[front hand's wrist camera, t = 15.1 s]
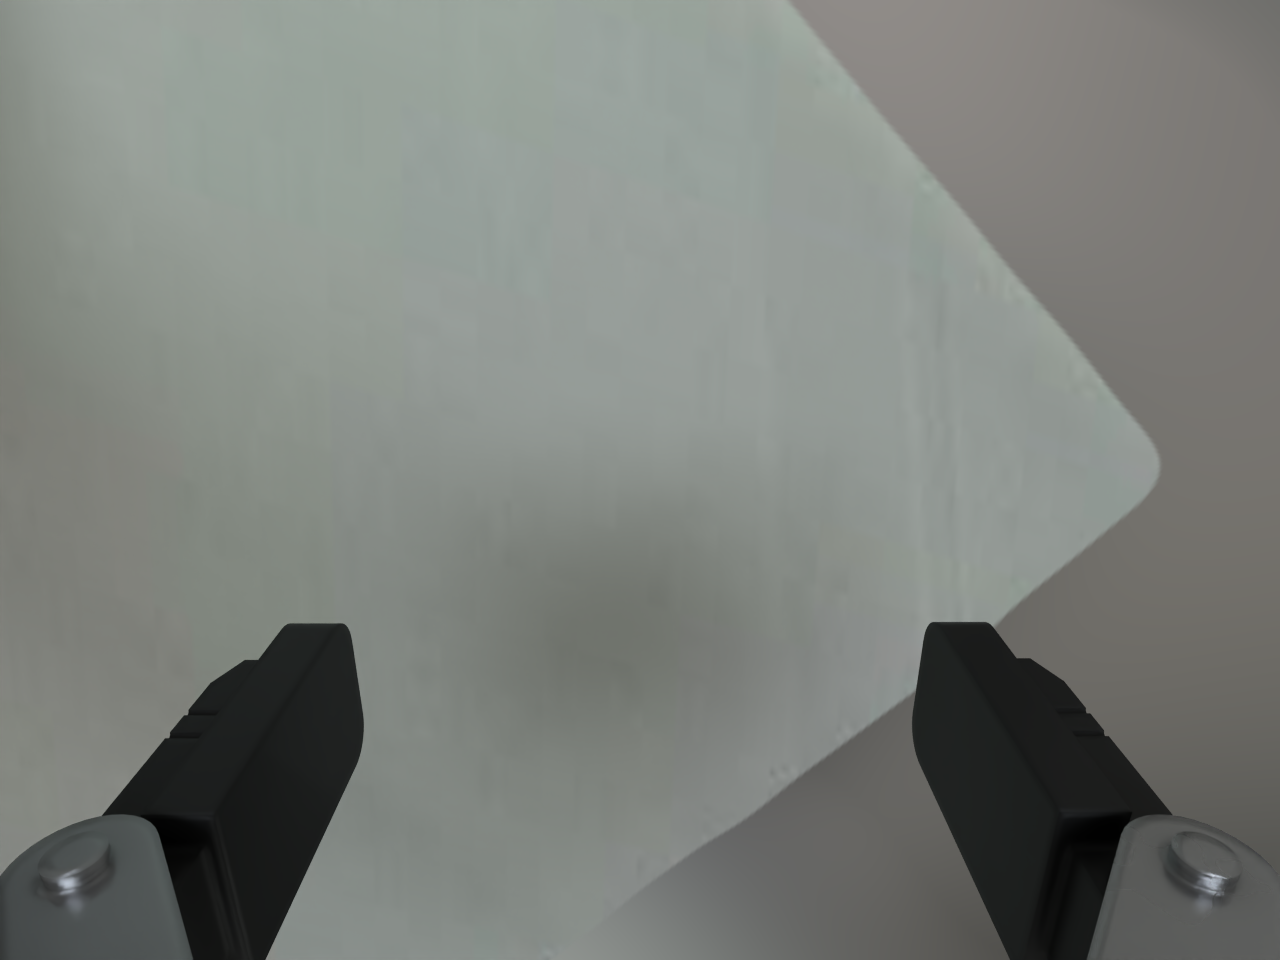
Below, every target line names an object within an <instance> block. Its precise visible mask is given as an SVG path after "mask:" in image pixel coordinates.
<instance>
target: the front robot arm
mask: <svg viewBox="0 0 1280 960" xmlns="http://www.w3.org/2000/svg"><path fill="white" fill-rule="evenodd" d="M363 732H364V719H363V711H362V704H361V698H360V691H359V684H358V678H357V671H356V664H355V658H354V651H353V644H352V639H351V634H350V631H349V629H348V627H347V626H346V625H345V624H287V625H286V626H284V627H283V628H282V629H281V631H280V632H279V633H278V635H277V636H276V637H275V639H274V640H273V641H272V643H271V644H270V645H269V647H268V648H267V649H266V650H265V652H264V653H263V654H262V656H261V657H260V658H259V660H244V661H243V662H241V663H240V664H238V665H237V666H235V667H234V668H232V669H231V670H229V671H228V672H226V673H225V674H223V675H222V676H220V677H219V678H217V679H216V680H214V681H213V682H211V683H210V684H209V686H208V687H207V688H206V689H205V691H204V692H203V693H202V694H201V695H200V697H199V698H198V699H197V700H196V702H195V703H194V704H193V705H192V706H191V708H190V709H189V713H188V715H184V716H183V717H182V719H181V720H180V721H179V722H178V723H177V725H176V726H175V727H174V728H173V730H172V731H171V732H170V738H165V739H164V741H163V742H162V743H161V744H160V745H159V747H158V748H157V749H156V750H155V752H154V753H153V754H152V755H151V756H150V758H149V759H148V760H147V761H146V763H145V764H144V765H143V766H142V767H141V769H140V770H139V771H138V772H137V774H136V775H135V776H134V777H133V778H132V780H131V781H130V782H129V783H128V784H127V786H126V787H125V788H124V789H123V791H122V792H121V793H120V794H119V795H118V797H117V798H116V799H115V800H114V802H113V803H112V804H111V805H110V806H109V808H108V809H107V810H106V811H105V813H104V814H103V815H102V816H100V817H95V818H91V819H87V820H84V821H81V822H78V823H75V824H72V825H70V826H68V827H65V828H63V829H61V830H58V831H56V832H54V833H53V834H51V835H49V836H47V837H45V838H43V839H42V840H40V841H39V842H37V843H36V844H34V845H33V846H31V847H30V848H29V849H27V850H26V851H25V852H23V853H22V854H21V855H20V856H18V857H17V858H16V859H15V860H14V861H13V862H12V863H11V864H10V865H9V866H8V867H7V869H6V870H5V871H4V872H3V873H2V874H1V876H0V960H265V959H266V957H267V955H268V953H269V951H270V949H271V946H272V944H273V942H274V940H275V938H276V936H277V934H278V932H279V929H280V927H281V925H282V923H283V921H284V919H285V917H286V914H287V912H288V910H289V908H290V906H291V904H292V902H293V899H294V897H295V895H296V893H297V891H298V889H299V887H300V885H301V882H302V880H303V878H304V876H305V874H306V872H307V870H308V867H309V865H310V863H311V861H312V859H313V857H314V855H315V852H316V850H317V848H318V846H319V844H320V842H321V840H322V838H323V835H324V833H325V831H326V829H327V827H328V825H329V823H330V820H331V818H332V816H333V814H334V812H335V810H336V808H337V805H338V803H339V801H340V799H341V797H342V795H343V793H344V791H345V788H346V786H347V784H348V782H349V780H350V778H351V776H352V773H353V771H354V769H355V767H356V765H357V762H358V759H359V756H360V752H361V748H362V742H363ZM912 733H913V742H914V747H915V752H916V755H917V758H918V761H919V764H920V766H921V768H922V770H923V772H924V774H925V777H926V779H927V781H928V783H929V785H930V787H931V790H932V792H933V794H934V796H935V798H936V800H937V803H938V805H939V807H940V809H941V811H942V813H943V816H944V818H945V820H946V822H947V824H948V826H949V829H950V831H951V833H952V835H953V837H954V839H955V842H956V844H957V846H958V848H959V850H960V852H961V855H962V857H963V859H964V861H965V863H966V865H967V867H968V870H969V872H970V874H971V876H972V878H973V880H974V882H975V885H976V887H977V889H978V891H979V893H980V895H981V898H982V900H983V902H984V904H985V906H986V909H987V911H988V913H989V915H990V917H991V919H992V922H993V924H994V926H995V928H996V930H997V932H998V934H999V937H1000V939H1001V941H1002V943H1003V945H1004V947H1005V950H1006V952H1007V954H1008V956H1009V958H1010V960H1280V876H1279V874H1278V873H1277V872H1276V871H1275V870H1274V869H1273V867H1272V866H1271V865H1270V864H1269V863H1268V862H1267V861H1266V860H1265V859H1264V858H1263V857H1261V856H1260V855H1259V854H1258V853H1257V852H1255V851H1254V850H1253V849H1251V848H1250V847H1249V846H1247V845H1246V844H1244V843H1243V842H1241V841H1240V840H1238V839H1237V838H1235V837H1233V836H1231V835H1229V834H1227V833H1225V832H1224V831H1222V830H1219V829H1217V828H1215V827H1212V826H1210V825H1208V824H1205V823H1202V822H1199V821H1196V820H1193V819H1189V818H1185V817H1180V816H1173V815H1172V814H1171V812H1170V811H1169V810H1168V809H1167V807H1166V806H1165V805H1164V804H1163V803H1162V801H1161V800H1160V799H1159V798H1158V796H1157V795H1156V794H1155V793H1154V791H1153V790H1152V789H1151V788H1150V786H1149V785H1148V784H1147V783H1146V782H1145V780H1144V779H1143V778H1142V777H1141V775H1140V774H1139V773H1138V772H1137V771H1136V769H1135V768H1134V767H1133V766H1132V764H1131V763H1130V762H1129V761H1128V759H1127V758H1126V757H1125V756H1124V754H1123V753H1122V752H1121V751H1120V750H1119V748H1118V747H1117V746H1116V745H1115V743H1114V742H1113V741H1112V740H1111V739H1110V737H1109V736H1105V735H1104V730H1103V729H1102V727H1101V726H1100V725H1099V724H1098V722H1097V721H1096V720H1095V719H1094V718H1093V716H1092V715H1091V714H1088V713H1086V708H1085V706H1084V705H1083V704H1082V703H1081V702H1080V700H1079V699H1078V698H1077V697H1076V695H1075V694H1074V693H1073V692H1072V690H1071V689H1070V688H1069V687H1068V686H1067V684H1066V683H1065V682H1064V681H1063V680H1061V679H1060V678H1058V677H1057V676H1055V675H1054V674H1052V673H1051V672H1049V671H1048V670H1046V669H1045V668H1044V667H1042V666H1041V665H1039V664H1038V663H1036V662H1035V661H1033V660H1032V659H1030V658H1016V657H1015V656H1014V654H1013V653H1012V652H1011V650H1010V649H1009V648H1008V646H1007V645H1006V644H1005V642H1004V641H1003V640H1002V638H1001V637H1000V636H999V634H998V633H997V632H996V630H995V629H994V628H993V627H992V626H991V625H990V624H989V623H987V622H932V623H930V624H929V625H928V627H927V629H926V632H925V635H924V641H923V647H922V654H921V661H920V668H919V674H918V681H917V688H916V695H915V701H914V708H913V716H912Z"/></svg>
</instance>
